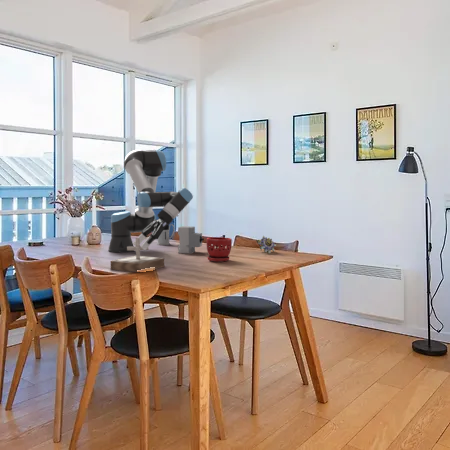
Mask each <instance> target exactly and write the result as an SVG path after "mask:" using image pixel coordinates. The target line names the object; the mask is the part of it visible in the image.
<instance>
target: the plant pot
mask: <svg viewBox="0 0 450 450" xmlns="http://www.w3.org/2000/svg"><path fill="white" fill-rule="evenodd" d="M232 243H233V240H232V238H231V237H222V236H221V237H218V236H214V237H213V236H212V237H210V236H209V237H207V238H206V250H207V253H208V256H207V260H208V261H210V262H212V263H213V262H217V263H218V262H219V263H222V262H223V263H224V262H227V261H229V260H230V256H229V255H230V254H231V249H232Z"/></svg>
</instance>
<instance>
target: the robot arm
mask: <svg viewBox="0 0 450 450" xmlns="http://www.w3.org/2000/svg"><path fill="white" fill-rule="evenodd" d="M123 168H124V170H125V172H126V173H127V175H128V174H129V176H130V177H131V180H132V182H133V185H134V186H135V189H136V190H137V197H136V201H137V205H138V206H137V208H135V210H134V213H132V212H131V211H120V212H115V213H112V214H111V215H110V230H111V232H110V234H111V238H110V242H109V245H108V251H109V252H113V253H123V252H124V253H126V252H133V251H134V250H127V247H133V246H136V239H135V240H134V241H133V240H132V233H133V234H134V233H140V235H138V237H137V238H139V242H140V247H141V248H143V249H144V250H143V251H147V250H146V249H147V248H149V247H150V246H151V244H153V242H154V241H155V240H158V238H159V236H160V235H161V233H162V231H163V230H164V228H165V227H166V226H167V225H169V226H170V225H171V223H172V222H173V221H174V219H175V218H176V217H179V214H180V213H181V212H182V211H183V210H184V209H185V207H187V205H188V204H189V203H190V202H191V201H192V200H193V197H194V195H193V193H192V191H190V190H189V189H188V188H186V187H181V188H180V189H179V190H178V191H157V190H156V189H157V183H158V178H159V177H160V176H161V175H162V172H164V171H166V169H167V159H166V155H165V153H164V152H163V151H162V150H157V149H153V150H152V149H134V150H132V151H130V152H128V153H127V155H126V156H125V158H124V162H123ZM158 207H159V208H162V207H163V208H162V209H161V210H160V211H159V212H158V214H157V215H156V213H155V211H154V210H153V208H158ZM157 217H158V219H157ZM148 235H149V236H148ZM145 239H146V240H145ZM144 240H145V241H144ZM143 241H144V242H143ZM142 242H143V243H142ZM141 243H142V244H141Z"/></svg>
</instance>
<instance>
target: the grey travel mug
mask: <svg viewBox="0 0 450 450" xmlns="http://www.w3.org/2000/svg"><path fill="white" fill-rule="evenodd" d="M171 226H172V227H173V229H172V230H173V231H172V234H171V236H170V230H171ZM174 234H175V225H174V224H171V223H170V224H169V225H167V226H166V227H165V228H164V230H163V231H162V233H161V235H160V236H159V238H158V239H157V242H156V245H157V246H168V245H171V244H170V239H172V237H173V236H174Z"/></svg>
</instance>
